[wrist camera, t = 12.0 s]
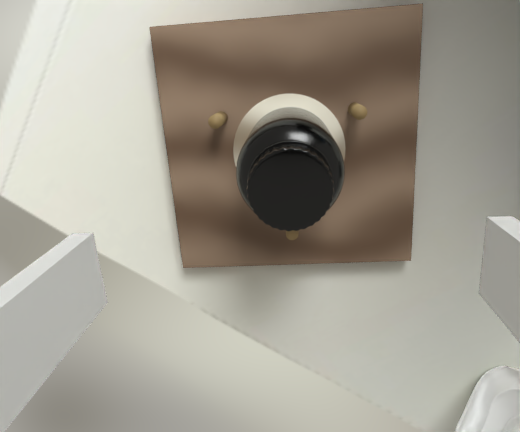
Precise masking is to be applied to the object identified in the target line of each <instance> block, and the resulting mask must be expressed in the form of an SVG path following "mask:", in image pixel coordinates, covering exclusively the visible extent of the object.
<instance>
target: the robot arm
mask: <svg viewBox="0 0 520 432" xmlns="http://www.w3.org/2000/svg"><path fill="white" fill-rule="evenodd" d="M479 294H480V296H481V297H482V298H483V299H484V300H485V302H486V303H487V304H488V305H489V306H490V308H491V309H492V310H493V311H494V312H495V314H496V315H497V316H498V317H499V318H500V320H501V321H502V322H503V323H504V324H505V326H506V327H507V328H508V329H509V330H510V332H511V333H512V334H513V335H514V336H515V338H516V339H517V340H518V341H519V342H520V221H519V220H517V219H516V218H514V217H513V216H496V217H487V220H486V230H485V239H484V248H483V258H482V267H481V277H480V286H479ZM107 303H108V301H107V296H106V292H105V287H104V283H103V277H102V273H101V268H100V263H99V258H98V253H97V249H96V244H95V239H94V234H93V233H75V234H71V235H70V236H68V237H67V238H66V239H64V240H63V241H62V242H60V243H59V244H57V245H56V246H55V247H53V248H52V249H51V250H49V251H48V252H47V253H45V254H44V255H43V256H41V257H40V258H39V259H37V260H36V261H34V262H33V263H32V264H30V265H29V266H28V267H26V268H25V269H24V270H22V271H21V272H20V273H18V274H17V275H16V276H14V277H13V278H11V279H10V280H9V281H7V282H6V283H5V284H3V285H2V286H1V287H0V432H5V430H6V429H7V428H8V427H9V425H10V424H11V423H12V422H13V420H14V419H15V418H16V417H17V415H18V414H19V413H20V411H21V410H22V409H23V408H24V407H25V405H26V404H27V403H28V401H29V400H30V399H31V398H32V397H33V395H34V394H35V393H36V391H37V390H38V389H39V388H40V387H41V385H42V384H43V383H44V382H45V380H46V379H47V378H48V377H49V375H50V374H51V373H52V372H53V370H54V369H55V368H56V367H57V365H58V364H59V363H60V361H61V360H62V359H63V358H64V357H65V355H66V354H67V353H68V351H69V350H70V349H71V348H72V347H73V345H74V344H75V343H76V341H77V340H78V339H79V338H80V337H81V335H82V334H83V333H84V331H85V330H86V329H87V328H88V327H89V325H90V324H91V323H92V322H93V320H94V319H95V318H96V317H97V315H98V314H99V313H100V312H101V310H102V309H103V308H104V307H105V305H106V304H107Z"/></svg>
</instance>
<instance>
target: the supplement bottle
mask: <svg viewBox="0 0 520 432" xmlns="http://www.w3.org/2000/svg"><path fill="white" fill-rule="evenodd" d="M344 177H345V166H344V160H343V156H342V153H341V151H340V148H339V147H338V145H337V143H336V141H335V140H334V138H333V136H332V135H331V133H330V131H329V130H328V128H327V127H326V125H325V124H324V123H323V121H322V120H321V119H320V118H319V117H317V116H316V115H315V114H313V113H311V112H309V111H307V110H305V109H301V108H296V107H285V108H280V109H276V110H274V111H271V112H269V113H268V114H266V115H265V116H263V117H262V118H261V119H260V120H259V121H258V122H257V123H256V125H255V126H254V127H253V129H252V131H251V132H250V134H249V136H248V138H247V139H246V141H245V143H244V145H243V147H242V149H241V151H240V153H239V156H238V160H237V166H236V180H237V185H238V189H239V191H240V194H241V196H242V198H243V200H244V201H245V203H246V204H247V205H248V207H249V208H250V209H251V210H252V211H253V212H254V213H255V214H256V215H257V216H258V218H259V219H260V220H262V221H263V222H264V223H265V224H266V225H270V226H271V227H272V228H277V229H279V230H286V231H292V230H294V231H298V230H300V229H306V228H307V227H308V226H313V225H314V223H315V222H318V221H320V219H321V217H323V216H324V215H325V214H326V212H327V211H328V210H329V209H330V208H331V207H332V206H333V204H334V203H335V202H336V200H337V198H338V197H339V195H340V193H341V190H342V187H343V183H344Z"/></svg>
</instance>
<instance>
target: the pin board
mask: <svg viewBox="0 0 520 432" xmlns="http://www.w3.org/2000/svg"><path fill="white" fill-rule="evenodd" d="M422 13H423V4H412V5H400V6H389V7H377V8H365V9H354V10H342V11H330V12H319V13H307V14H296V15H284V16H272V17H261V18H249V19H237V20H226V21H214V22H202V23H191V24H179V25H167V26H156V27H150V34H151V41H152V48H153V55H154V62H155V70H156V77H157V84H158V91H159V98H160V105H161V112H162V120H163V127H164V134H165V141H166V148H167V155H168V162H169V170H170V177H171V184H172V191H173V198H174V205H175V212H176V220H177V227H178V234H179V241H180V248H181V255H182V262H183V268H194V267H225V266H256V265H287V264H318V263H349V262H381V261H411V249H412V227H413V206H414V185H415V163H416V142H417V120H418V99H419V78H420V56H421V35H422ZM285 107H296V108H301V109H305V110H307V111H309V112H311V113H313V114H315V115H316V116H317V117H319V118H320V119H321V120H322V121H323V123H324V124H325V125H326V127H327V128H328V130H329V131H330V133H331V135H332V136H333V138H334V140H335V141H336V143H337V145H338V147H339V148H340V151H341V153H342V156H343V160H344V166H345V177H344V183H343V187H342V190H341V193H340V195H339V197H338V198H337V200H336V202H335V203H334V204H333V206H332V207H331V208H330V209H329V210H328V211H327V212H326V214H325V215H324V216H323V217H321V219H320V221H318V222H315V223H314V225H313V226H308V227H307V228H306V229H300V230H298V231H294V230H292V231H286V230H279V229H277V228H272V227H271V226H270V225H266V224H265V223H264V222H263V221H262V220H260V219H259V218H258V216H257V215H256V214H255V213H254V212H253V211H252V210H251V209H250V208H249V207H248V205H247V204H246V203H245V201H244V200H243V198H242V196H241V194H240V191H239V189H238V185H237V180H236V166H237V160H238V156H239V153H240V151H241V149H242V147H243V145H244V143H245V141H246V139H247V138H248V136H249V134H250V132H251V131H252V129H253V127H254V126H255V125H256V123H257V122H258V121H259V120H260V119H261V118H262V117H263V116H265V115H266V114H268V113H269V112H271V111H274V110H276V109H280V108H285Z"/></svg>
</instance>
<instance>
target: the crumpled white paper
mask: <svg viewBox="0 0 520 432" xmlns="http://www.w3.org/2000/svg"><path fill="white" fill-rule="evenodd" d="M455 432H520V369H518V368H512V367H508V366H504V365H502V366H498V367H496V368H493V369H491V370H489V371H487V372H486V373H485V374H484V375H483V376H482V377H481V378H480V380H479V381H478V383H477V384H476V386H475V388H474V390H473V392H472V394H471V397H470V399H469V401H468V403H467V405H466V408H465V410H464V412H463V414H462V416H461V418H460V420H459V422H458V424H457V427H456V430H455Z"/></svg>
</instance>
